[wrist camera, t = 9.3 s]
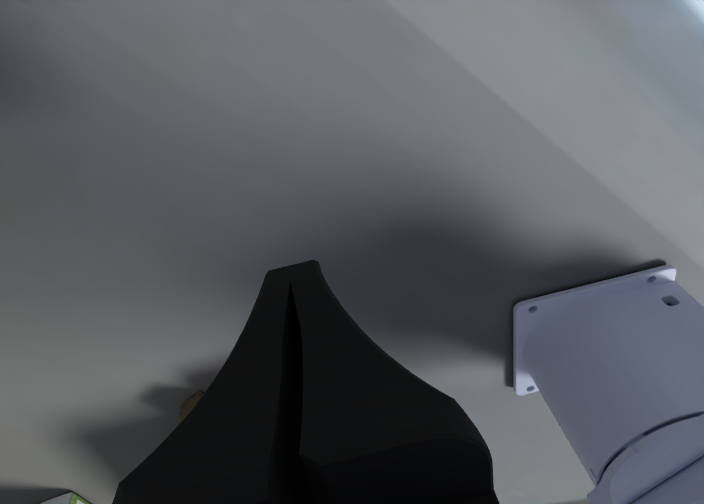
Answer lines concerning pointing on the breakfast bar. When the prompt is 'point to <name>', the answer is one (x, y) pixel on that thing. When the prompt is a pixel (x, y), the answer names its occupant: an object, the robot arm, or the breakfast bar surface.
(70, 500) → the syrup box
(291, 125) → the breakfast bar surface
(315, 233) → the breakfast bar surface
